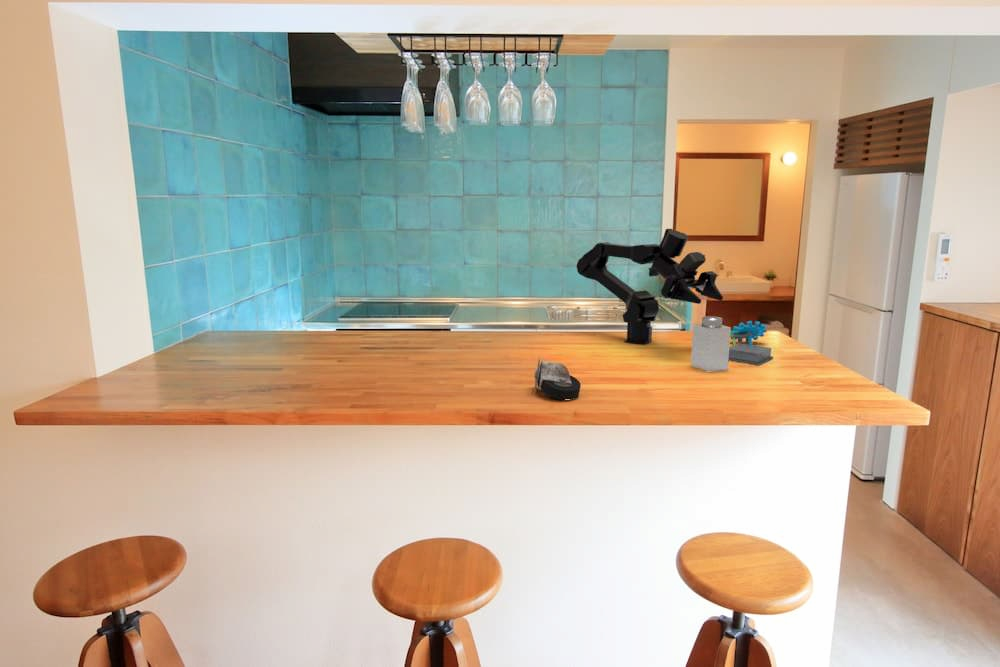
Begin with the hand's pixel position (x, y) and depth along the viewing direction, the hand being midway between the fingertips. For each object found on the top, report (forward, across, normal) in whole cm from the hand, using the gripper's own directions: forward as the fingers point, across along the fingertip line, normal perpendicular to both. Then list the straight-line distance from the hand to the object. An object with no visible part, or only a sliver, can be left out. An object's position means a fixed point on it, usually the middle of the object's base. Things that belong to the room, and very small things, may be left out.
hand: (711, 300), depth 172 cm
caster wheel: (+8, -55, +14) cm, 57 cm away
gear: (+3, +24, +16) cm, 29 cm away
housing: (+13, -9, +11) cm, 19 cm away
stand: (+13, +7, +11) cm, 19 cm away
